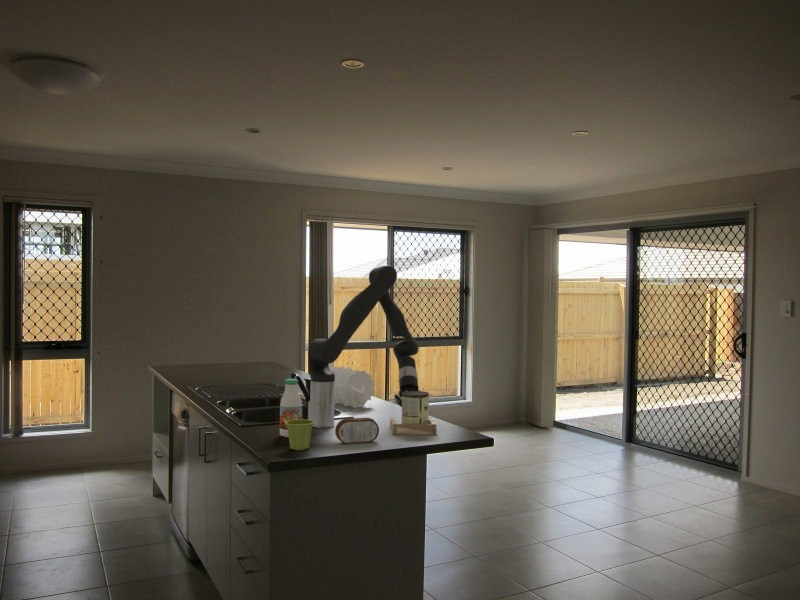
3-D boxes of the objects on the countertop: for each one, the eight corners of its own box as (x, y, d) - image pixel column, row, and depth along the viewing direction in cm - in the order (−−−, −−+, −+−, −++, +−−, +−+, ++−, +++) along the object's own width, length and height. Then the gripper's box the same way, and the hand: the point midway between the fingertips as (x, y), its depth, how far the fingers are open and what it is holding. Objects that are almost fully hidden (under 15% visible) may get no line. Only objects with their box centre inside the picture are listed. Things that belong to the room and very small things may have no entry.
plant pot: (284, 452, 206) (285, 424, 206) (284, 445, 215) (285, 419, 215) (314, 451, 207) (314, 424, 207) (313, 444, 217) (313, 418, 217)
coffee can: (403, 427, 249) (404, 390, 249) (430, 428, 247) (430, 391, 247) (398, 432, 239) (399, 394, 239) (426, 433, 237) (427, 395, 237)
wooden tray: (389, 426, 249) (389, 417, 249) (431, 426, 251) (431, 417, 251) (392, 434, 236) (392, 424, 236) (436, 434, 237) (436, 424, 237)
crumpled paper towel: (339, 409, 310) (370, 414, 290) (310, 396, 300) (339, 400, 281) (352, 373, 315) (383, 376, 296) (324, 359, 306) (354, 361, 286)
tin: (377, 440, 225) (377, 416, 225) (379, 442, 222) (380, 418, 222) (334, 443, 220) (335, 418, 220) (336, 445, 217) (337, 420, 217)
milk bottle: (277, 434, 233) (278, 378, 233) (298, 432, 236) (299, 377, 236) (282, 438, 226) (283, 381, 226) (304, 437, 229) (304, 380, 229)
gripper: (392, 374, 257) (394, 410, 245) (425, 374, 259) (429, 410, 247) (391, 385, 263) (393, 422, 251) (423, 385, 264) (427, 421, 252)
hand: (411, 416), depth 249 cm, fingers closed
